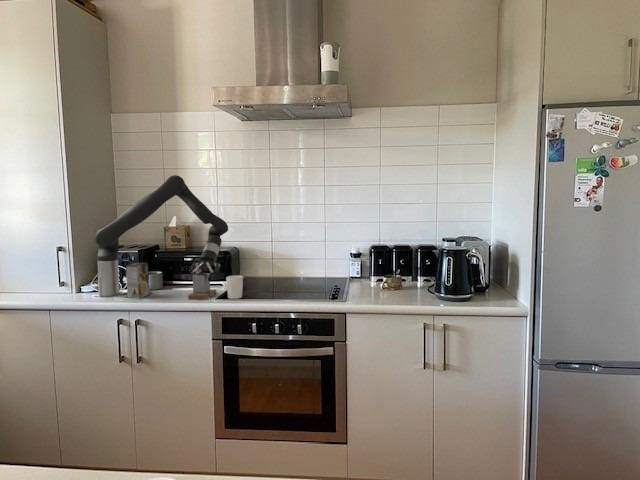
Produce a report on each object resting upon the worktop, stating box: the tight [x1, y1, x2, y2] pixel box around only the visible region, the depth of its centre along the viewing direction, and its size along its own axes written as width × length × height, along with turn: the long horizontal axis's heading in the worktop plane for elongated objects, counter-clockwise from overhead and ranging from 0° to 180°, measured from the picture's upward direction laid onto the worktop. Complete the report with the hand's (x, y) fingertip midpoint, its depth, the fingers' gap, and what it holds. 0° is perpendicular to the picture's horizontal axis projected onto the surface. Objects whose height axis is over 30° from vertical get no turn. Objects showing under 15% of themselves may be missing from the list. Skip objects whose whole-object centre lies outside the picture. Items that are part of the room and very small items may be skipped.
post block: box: [187, 288, 217, 301], centre depth 219 cm, size 14×8×6 cm, turn 170°
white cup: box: [225, 275, 244, 300], centre depth 217 cm, size 8×8×10 cm
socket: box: [192, 272, 211, 294], centre depth 219 cm, size 6×6×9 cm
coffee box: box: [125, 262, 150, 300], centre depth 219 cm, size 9×6×16 cm
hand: (200, 280), depth 217 cm, fingers open, 8 cm apart
